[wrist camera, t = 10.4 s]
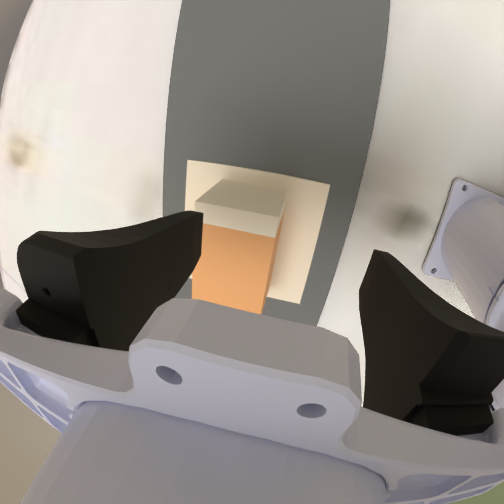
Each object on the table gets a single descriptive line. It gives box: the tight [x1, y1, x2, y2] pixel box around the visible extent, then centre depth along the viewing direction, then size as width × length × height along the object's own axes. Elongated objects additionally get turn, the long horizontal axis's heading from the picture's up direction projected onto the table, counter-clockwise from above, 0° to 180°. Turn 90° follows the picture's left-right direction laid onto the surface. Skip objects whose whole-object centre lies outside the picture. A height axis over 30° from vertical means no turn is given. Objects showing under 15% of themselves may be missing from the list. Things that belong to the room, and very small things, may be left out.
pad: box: [185, 159, 330, 304], centre depth 22 cm, size 10×10×1 cm
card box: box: [192, 179, 288, 315], centre depth 19 cm, size 8×5×5 cm, turn 172°
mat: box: [163, 0, 390, 326], centre depth 18 cm, size 14×32×1 cm, turn 172°
